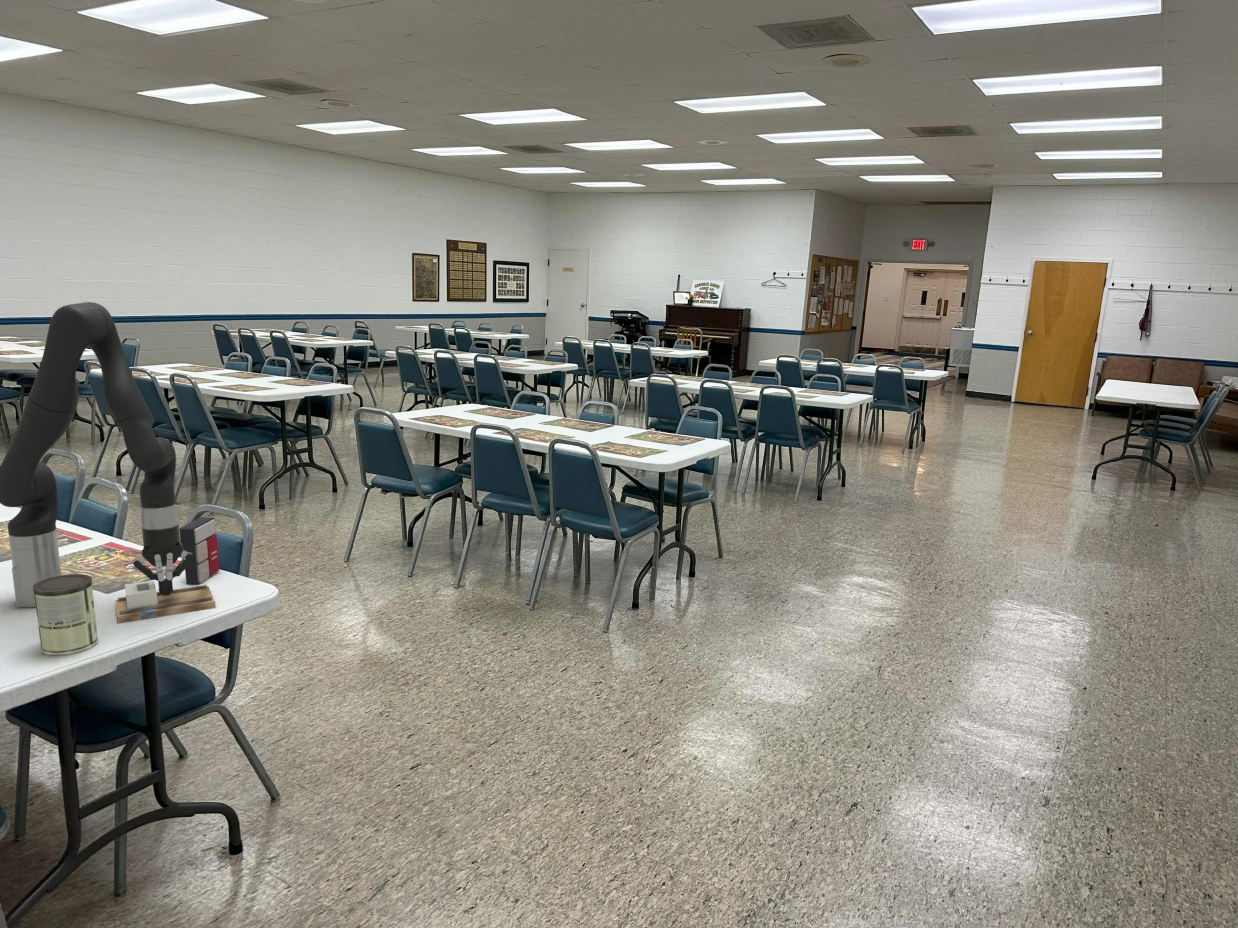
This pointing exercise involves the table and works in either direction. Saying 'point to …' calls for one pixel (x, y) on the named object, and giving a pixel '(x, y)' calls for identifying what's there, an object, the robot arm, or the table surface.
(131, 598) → the block
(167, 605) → the board
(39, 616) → the coffee can
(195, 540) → the black red grey box
